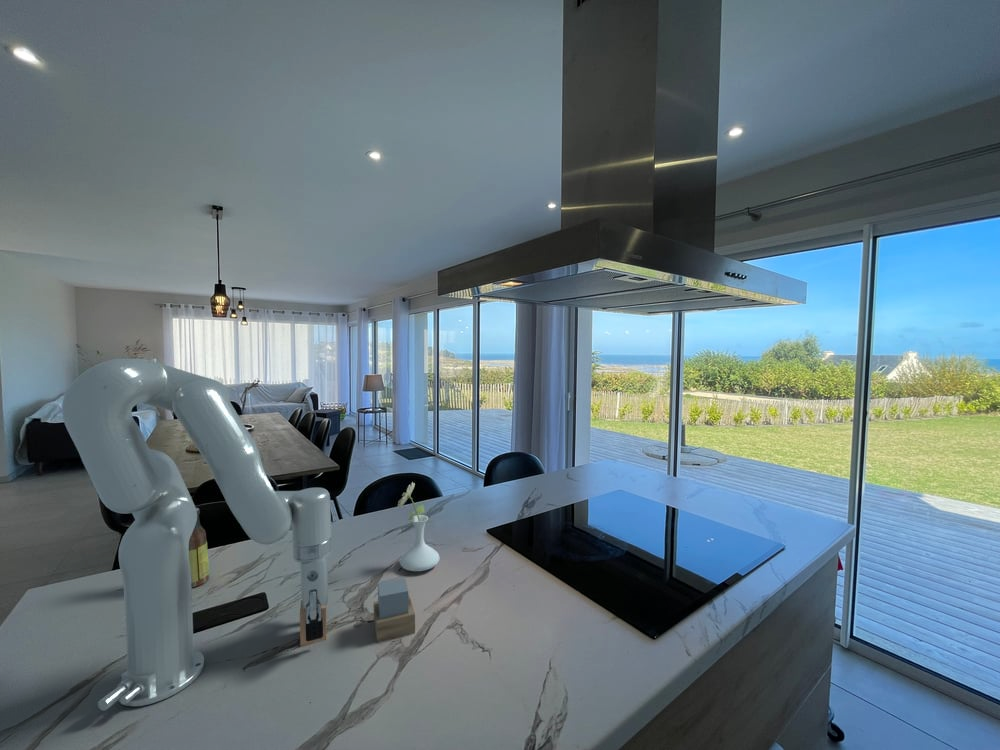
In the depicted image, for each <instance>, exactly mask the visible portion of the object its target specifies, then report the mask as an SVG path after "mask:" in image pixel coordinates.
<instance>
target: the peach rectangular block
mask: <svg viewBox="0 0 1000 750" xmlns="http://www.w3.org/2000/svg"><path fill="white" fill-rule="evenodd" d="M316 604H319V601H317V602H316ZM309 606H310V603H309ZM316 610H317V612H318V608H316ZM309 614H310V610H309ZM322 617H323V637H322V638H319V639H316V640H312V641H306V625H305V622H306V610H305V609H303V604H302V599H301V600H300V607H299V635H300V636H299V637H300V638H299V639H300V645H299V646H306V645H310V644H313V643H317V642H322V641H326V640H327V605H326V606H325V605H323V606H322V605H321V618H322Z"/></svg>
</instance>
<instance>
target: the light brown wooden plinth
mask: <svg viewBox="0 0 1000 750" xmlns="http://www.w3.org/2000/svg"><path fill="white" fill-rule="evenodd" d="M415 613H416V612H415V610H414V607H413V604H412V601H411V597H410V594H408V613H407V614H402V615H398V616H393V617H388V618H383V619H380V615H379V607H378V600H376V601H373V623H374V632H375V637H376V643H381V641H382V642H385V641H389V640H394V639H397V637H398V638H402V637H405V635H406V636H409V635H414V634H415V633H416V614H415ZM401 636H402V637H401Z"/></svg>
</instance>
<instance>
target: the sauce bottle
mask: <svg viewBox="0 0 1000 750" xmlns="http://www.w3.org/2000/svg"><path fill="white" fill-rule="evenodd" d="M195 508H196V511H197V522H196V525H195V528H194V530H193V532H192V535H191V537H190V540H189V561H190V569H191V588H197V587H200V586H202V585H204V584H206V583H207V582H208V581H209V579H210V575H209V574H210V563H209V554H208V553H209V552H208V551H209V550H208V541H207V533H206V530H205V528H204V527H203V526H202V525H201V522H200V513H201V511H200V508H198V507H195Z"/></svg>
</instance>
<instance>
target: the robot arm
mask: <svg viewBox="0 0 1000 750" xmlns="http://www.w3.org/2000/svg"><path fill="white" fill-rule="evenodd" d="M139 404H143V405H148V406H151V407H154V408H158V409H162V410H166V411H169V412H173V413H174V415H175V416H176V418H177V419H178V421H179V423H180V425H181V426H182V427H183V429H184V431H185V432H186V434H187V435H188V436H189V438H190V440H191V442H193V444H194V445H195V447H196V448H197V450H198V451H199V453H200V455H201V456H202V458H203V459H204V461H205V463H206V464H207V465H208V467H209V469H210V471H211V473H212V476H213V479H214V481H215V482H216V484H217V486H218V487H219V489H220V492H221V494H222V495H223V497H224V499H225V502H226V504H227V506H228V507H229V509H230V512H231V513H232V515H233V516H234V517H235V519H236V520H237V522H238V523H239V524H240V526H241V528H242V529H243V531H244V532H245V534H246V535H247V536H248V538H249V539H250V540H251V541H253V542H255V543H257V544H259V545H266V546H267V545H273V544H276V543H278V542H280V541H281V540H283V539H284V538H285V537H286V536H287V535H288V534H289V532H290V530H291V529H292V532H291V533H292V552H293V553H292V556H293V557H292V558H293V561H295V562H296V563H297V562H298V563H299V573H300V574H299V575H300V590H301V600H302V604H303V609H305V610H306V622H305V625H306V641H312V640H316V639H319V638H322V637H323V617H322V618H321V605H322V606H323V605H325V606H326V607H327V605H328V604H329V565H328V564H329V563H328V556H330V555H331V554H332V550H333V549H332V548H333V547H332V516H331V513H332V512H331V496H330V495H331V494H330V492H329V491H328V490H327V489H326V488H324V487H309V488H304V489H301V490H275V489H274V487H273V486H272V484H271V482H270V480H269V478H268V476H267V473H266V471H265V469H264V466H263V462H262V458H261V454H260V450H259V448H258V446H257V444H256V442H255V439H254V438H253V437H252V435H251V434H250V432H249V430H248V429H247V428H246V426H245V424H244V422H243V421H242V419H241V417H240V416H239V413H237V411H236V409H235V407H234V406H233V404H232V403H231V394H230V391H229V389H228V388H227V387H226V385H224V384H223V383H222V382H220V381H218V380H216V379H213V378H211V377H210V378H209V377H207V376H202V375H199V374H196V373H192V372H189V371H186V370H182V369H179V368H177V367H174V366H170V365H166V364H163V363H161V362H158V361H154V360H150V359H147V358H129V357H128V358H127V357H126V358H114V359H109V360H105V361H102V362H100V363H97V364H95V365H93V366H91V367H90V368H87V370H85V371H84V372H83V373H81V374H80V375H79V376H77V377H76V378H75V380H73V381H72V383H70V385H69V386H68V388H67V389H66V392H65V394H64V397H63V399H62V403H61V413H62V420H63V422H64V425H65V428H66V430H67V432H68V434H69V436H70V438H71V440H72V442H73V444H74V446H75V448H76V450H77V452H78V454H79V457H80V459H81V462H82V464H83V465H84V468H85V470H86V472H87V474H88V476H89V478H90V480H91V482H92V484H93V486H94V488H95V490H96V492H97V495H98V496H99V499H100V500H101V502H102V503H103V505H104V506H105V507H106V508H107V509H109V510H110V511H112V512H115V513H118V514H124V515H125V514H127V515H128V514H132V516H133V518H134V520H133V522H132V524H131V525H130V526H129V527H128V528H127V529H126V531H125V533H124V534H123V536H122V538H121V541H120V543H119V547H118V562H119V570H120V574H121V578H122V585H123V597H124V614H125V615H124V616H125V636H126V637H125V638H126V639H125V641H126V661H127V663H126V664H127V669H126V670H125V671H124V672H123V673H121V676H120V677H121V678H120V679H121V681H120V682H119V683H118V684H117V686H116V688H114V689H113V690H112V691H110V692H108V693H107V694H106V695H105V696H104V697H102V698H101V699H100V700H99V701H98V702H97V707H98V708H99V709H100V711H104V712H105V711H107V710H108V709H109V708H111V707H112V706H113V705H115V704H116V703H117V702H118V703H119V704H120V705H122V706H127V707H143V706H147V705H148V706H149V705H151V704H154V703H158V702H160V701H164V700H166V699H168V698H170V697H171V696H173V695H176V694H177V693H180V692H181V691H182V690H184V689H185V688H186V687H187V686H189V685H190V684H191V683H193V682H194V681H195V680H196V679H197V678H198V677H199V676H200V674H201V673H202V671H203V670H204V667H205V657H204V655H203V653H201V652H200V651H199V650H195V649H194V648H195V647H194V623H193V622H194V619H193V595H192V594H193V592H192V588H191V569H190V561H189V540H190V537H191V535H192V532H193V530H194V528H195V525H196V522H197V511H196V508H197V507H196V505H195V503H194V501H193V498H192V497H191V494H190V492H189V490H188V488H187V485H186V483H185V481H184V479H183V476H182V474H181V471H180V470H179V468H178V466H177V464H176V463H175V462H174V460H173V459H172V458H171V457H170V456H169V455H167V454H166V453H165V452H162V451H161V450H157V449H152V448H151V449H150V447H149V445H148V443H147V442H146V439H145V437H144V434H143V432H142V430H141V428H140V427H139V425H138V423H137V422H136V420H135V419H134V417H133V414H132V411H133V408H134V407H136V406H137V405H139ZM317 601H319V604H316V602H317ZM309 603H310V606H309ZM316 608H318V612H317V610H316ZM309 610H310V614H309Z"/></svg>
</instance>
